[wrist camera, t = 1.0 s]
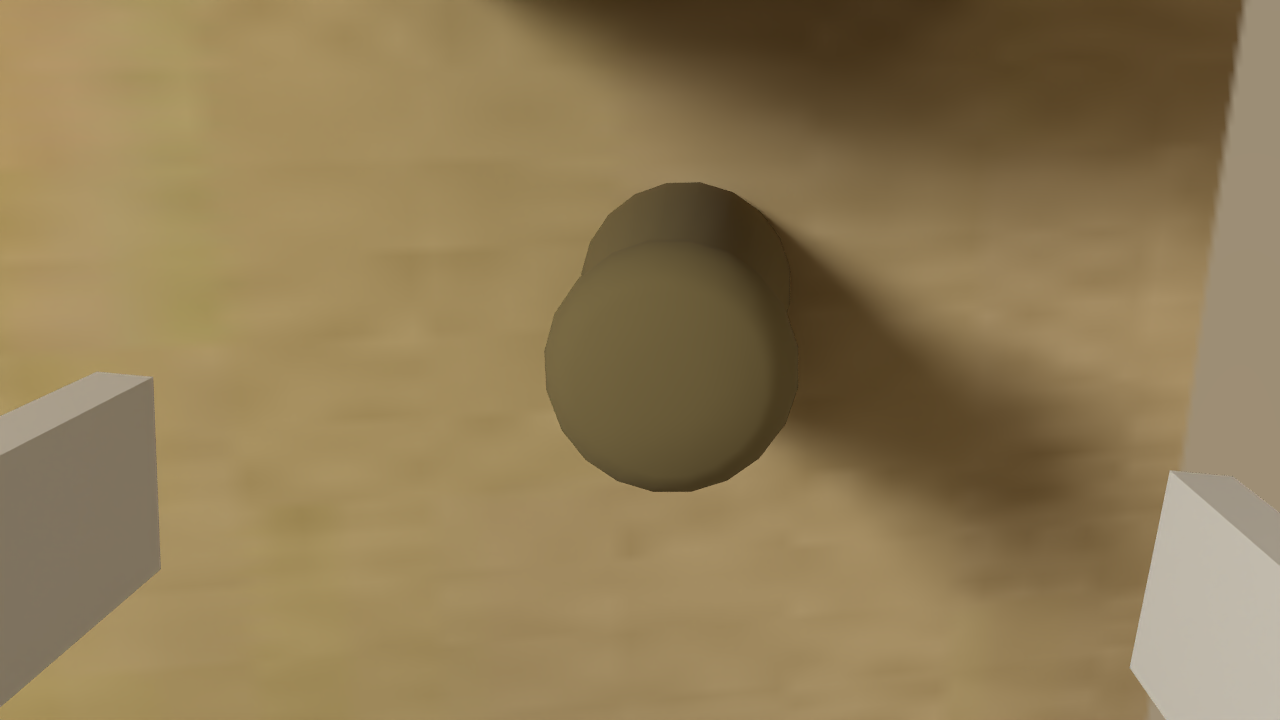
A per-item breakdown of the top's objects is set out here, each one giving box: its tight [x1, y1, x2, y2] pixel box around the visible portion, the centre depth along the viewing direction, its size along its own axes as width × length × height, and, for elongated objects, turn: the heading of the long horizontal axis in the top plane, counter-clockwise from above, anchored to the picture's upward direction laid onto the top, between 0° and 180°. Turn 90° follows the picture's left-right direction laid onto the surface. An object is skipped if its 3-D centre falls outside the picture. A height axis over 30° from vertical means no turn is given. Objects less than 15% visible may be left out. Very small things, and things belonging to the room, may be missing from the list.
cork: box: [544, 182, 798, 492], centre depth 26 cm, size 6×6×11 cm
